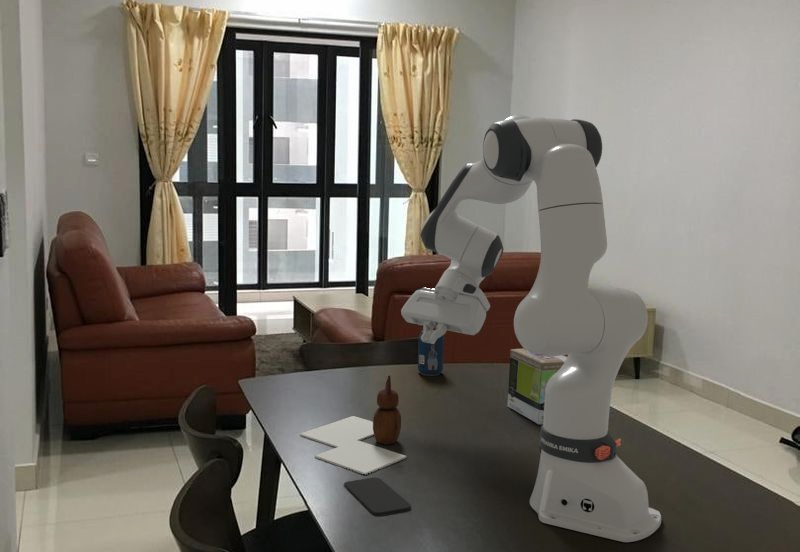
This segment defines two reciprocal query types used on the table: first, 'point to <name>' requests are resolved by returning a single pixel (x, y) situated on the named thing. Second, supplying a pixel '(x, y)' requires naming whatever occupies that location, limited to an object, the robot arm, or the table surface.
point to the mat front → (341, 431)
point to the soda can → (430, 356)
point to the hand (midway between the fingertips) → (426, 341)
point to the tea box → (530, 381)
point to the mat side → (360, 457)
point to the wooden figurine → (387, 416)
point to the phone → (377, 496)
